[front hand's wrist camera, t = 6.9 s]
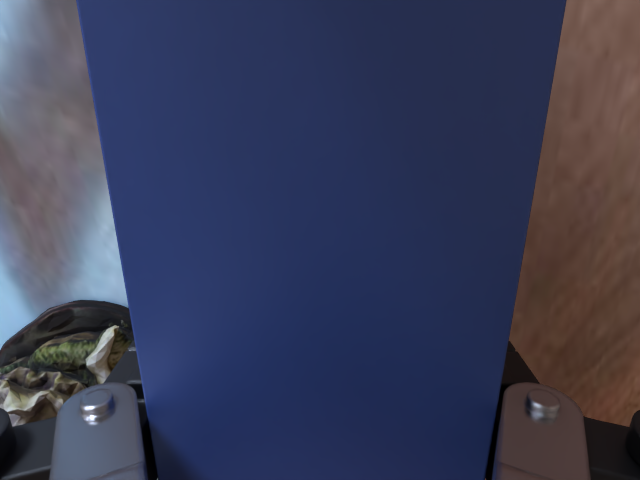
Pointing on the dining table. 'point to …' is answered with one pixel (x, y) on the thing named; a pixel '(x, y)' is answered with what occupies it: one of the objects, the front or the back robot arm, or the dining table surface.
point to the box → (321, 223)
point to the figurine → (61, 357)
